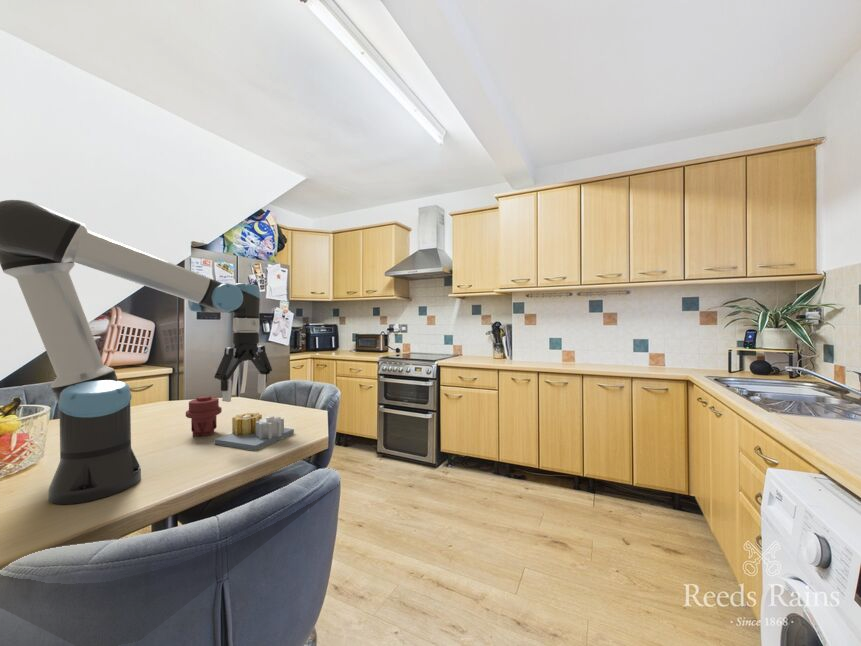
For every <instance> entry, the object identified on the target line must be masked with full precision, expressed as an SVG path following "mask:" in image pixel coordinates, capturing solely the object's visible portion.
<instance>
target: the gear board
mask: <svg viewBox="0 0 861 646" xmlns="http://www.w3.org/2000/svg"><path fill="white" fill-rule="evenodd" d="M250 417H251V415H246V416H243V418H250ZM293 433H294V434H295V429H294V428H286V427H285V418H281V417H280V416H276V417H275V416H273V415H271V416H266V417H265V418H262V419H260V420H259V421H258V422H256V433H254V434H249V435H246V436H245V435H238V436H236V435H235V433H234V434H232V433H228V434H225V435H223V436H219V437H217V438H214V445H216V444H218V445H217V446H222V445H224V447H228V446H230V448H235V447H236V448H237V449H242V450H249V451H255V452H256V451H258V450H260V449H262V447H263V448H265V447H267V446H269V445H271V443H272V444H274V443H276V442H278V441H280V439H281V440H283V439H285V438H287V437H290V436H292V435H294V434H293ZM291 434H292V435H291ZM289 435H290V436H289ZM282 438H283V439H282ZM277 440H278V441H277ZM275 441H276V442H275ZM273 442H274V443H273ZM236 448H235V449H236Z"/></svg>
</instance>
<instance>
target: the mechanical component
mask: <svg viewBox="0 0 861 646" xmlns="http://www.w3.org/2000/svg"><path fill="white" fill-rule="evenodd" d="M219 400H220V399H219V398H218V397H212V396H210V395H202V396H197V398H194V399H192V400H190V401H189V402H188V410H186V411H185V417H186V418H188V419H191V424H190V425H191V426H190V427H191V428H190V429H191V432H192V437H193V436H196V437H201V436H200V435H202V436H212V435H211V434H213V435H214V434H215V430H216V429H217V424H218V423H217V416H218V415H221V413H222V411H223V410H222V409H223V408H222V407H221V406H219V404H220V401H219Z"/></svg>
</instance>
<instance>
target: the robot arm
mask: <svg viewBox="0 0 861 646" xmlns="http://www.w3.org/2000/svg"><path fill="white" fill-rule="evenodd" d="M75 263H76V264H78V265H82V266H84V267H87V268H90V269H93V270H97V271H99V272H103V273H104V274H105V273H106V274H109V275H111V276H115V277H117V278H121V279H124V280H126V281H129V282H132V283H135V284H138V285H142V286H145V287H148V288H151V289H153V290H157V291H160V292H162V293H164V294H167V295H172V296H175V297H178V298H181V299H183V300H186V301H187V305H188V308H189V310H190V311H191V312H194V313H195V312H196V313H223V314H224V313H225V314H226V313H228V314H231V313H232V314H233V315H232V316H233V317H232V319H233V322H232V331H234V332H233V333H232V344H233V345H234V347H225V348H224V352H223V356H222V358H221V360H220V363H219V365H218V367H217V370H216V372H215V374H214V376H213V378H214V379H215V380H219V381H220V391H221V392H222V399H221V401H222V402H227V403H230V402H232V380H231V379H230V378H231V377H232V375H233V374H234V372H235V371H236V369H237V368H238V367H239V365H240V364H242V362H247V361H251V363H252V364H253V366H255V368H256V369H257V371H258V372H259V373H258V374H257V394H261V395H264V394H266V392H267V391H266V390H267V389H266V384H267V382H268V381H267V380H268V375H269V374H270V373H271V372H272V371H273V368H272V366H271V363H270V361H269V358H268V355H267V353H266V346H265V345H258V344H259V342H260V333H259V332H258V331H259V330H260V305H261V304H260V303H261V292H260V291H261V290H260V287H259V286H258V285H257V284H254V283H253V284H252V283H235V284H232V283H226V282H225V283H223V282H220V281H218V280H215V279H212V278H210V277H207V276H205V275H202V274H200V273H198V272H194V271H192V270H190V269H187V268H185V267H183V266H181V265H180V266H179V265H177V264H174V263H172V262H169V261H166V260H164V259H162V258H159V257H156V256H154V255H152V254H149V253H146V252H143V251H141V250H138V249H136V248H134V247H131V246H128V245H126V244H124V243H121V242H118V241H115V240H113V239H110V238H108V237H105V236H103V235H101V234H97V233H95V232H92V231H91V230H89V229H88V228H87V226H86V224H85V223H82V222H80V221H77V220H75V219H73V218H70V217H68V216H65V215H63V214H61V213H58V212H56V211H54V210H52V209H49V208H47V207H45V206H43V205H40V204H37V203H34V202H31V201H28V200H20V199H8V200H7V199H6V200H2V201H0V267H1V270H2V273H4V274H6V275H8V276H11V277H13V278H15V279H16V281H17V283H18V285H19V287H20V290H21V293H22V295H23V297H24V300H25V303H26V304H27V308H28V310H29V312H30V315H31V316H32V320H33V321H34V325H35V327H36V329H37V331H38V334H39V336H40V338H41V342H42V343H43V346H44V349H45V351H46V355H47V356H48V358H49V361H50V364H51V366H52V368H53V371H54V374H55V376H56V377H55V379H54V381H53V382H52V383H51V385H50V387H51V391H52V392H53V394H54V397H55V399H56V402H57V405H58V406H57V407H58V411H59V453H60V455H59V456H60V457H59V463H58V466H57V468H56V470H55V473H54V476H53V478H52V480H51V483H50V485H49V488H48V501H49V502H50V503H51V504H55V505H73V504H74V505H75V504H79V503H80V504H81V503H86V502H91V501H95V500H99V499H103V498H107V497H110V496H112V495H116V494H119V493H121V492H123V491H125V490H127V489H130V488H131V487H133V486H134V485H136V484H137V483H138V482H140V480H142V479H141V478H142V468H141V466H140V463H139V461H138V459H137V457H136V454H135V453H134V451H133V449H132V428H131V427H132V422H131V419H132V418H131V401H132V398H133V397H132V395H133V394H132V392H131V387H130V385H129V384H127V383H126V382H124V381H120V380H119V379H118V376H117V374H116V371H115V369H114V368H113V367H110V366H107V365H105V364H104V362H103V359H102V356H101V353H100V351H99V349H98V345H97V343H96V339H95V338H94V336H93V333H92V330H91V327H90V325H89V323H88V319H87V317H86V314H85V311H84V309H83V305H82V304H81V301H80V298H79V295H78V293H77V291H76V288H75V285H74V283H73V280H72V277H71V274H70V273H71V272H70V271H71V270H72V269H73V268H74V267H75Z"/></svg>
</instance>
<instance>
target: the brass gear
mask: <svg viewBox="0 0 861 646" xmlns="http://www.w3.org/2000/svg"><path fill="white" fill-rule="evenodd" d="M246 415H251V417H250V418H243V416H246ZM260 419H263V414H260V412H253V413H252V412H246V413H242V414H236V415H235V416H233V417H232V418H231V422H232V425H231V427H232V431H231V432H232V434H234V433H235V435H236V436H238V435H245V436H246V435H249V434H254V433H256V422H258V421H259V420H260Z"/></svg>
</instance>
